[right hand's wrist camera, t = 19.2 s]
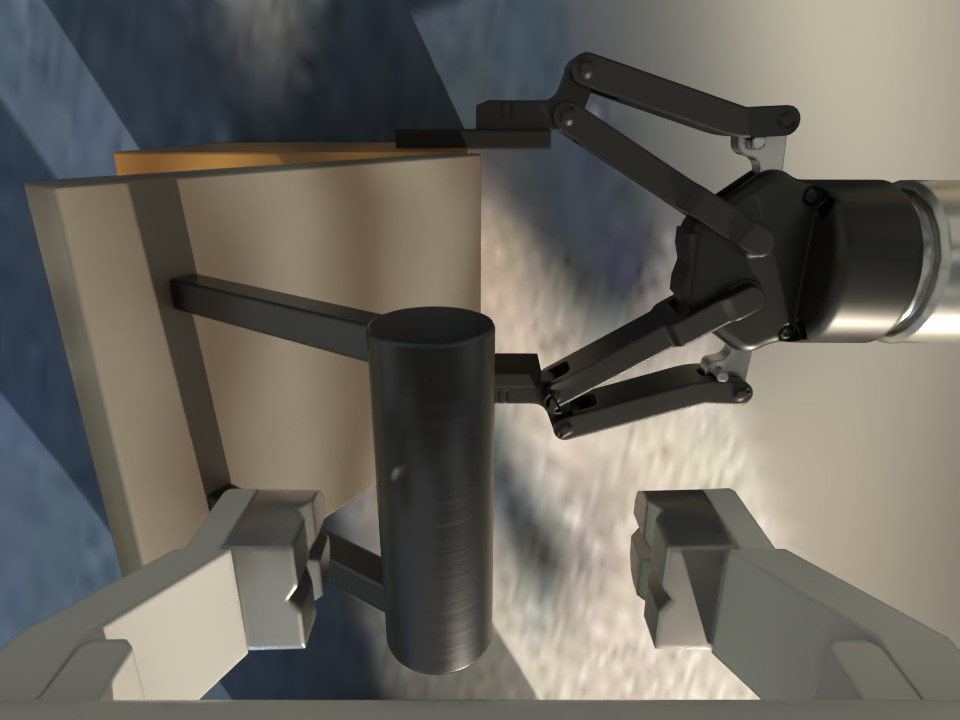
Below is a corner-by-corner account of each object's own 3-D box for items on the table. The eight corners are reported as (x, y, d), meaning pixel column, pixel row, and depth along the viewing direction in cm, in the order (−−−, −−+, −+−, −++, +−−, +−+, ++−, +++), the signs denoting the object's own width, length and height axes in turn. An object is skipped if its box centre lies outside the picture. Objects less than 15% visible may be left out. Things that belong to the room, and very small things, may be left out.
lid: (128, 607, 16) (413, 824, 11) (20, 181, 12) (379, 223, 7) (456, 409, 26) (672, 474, 22) (452, 152, 23) (712, 161, 18)
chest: (251, 325, 37) (161, 405, 27) (226, 142, 33) (111, 151, 23) (472, 325, 37) (468, 405, 27) (471, 142, 33) (467, 152, 23)
